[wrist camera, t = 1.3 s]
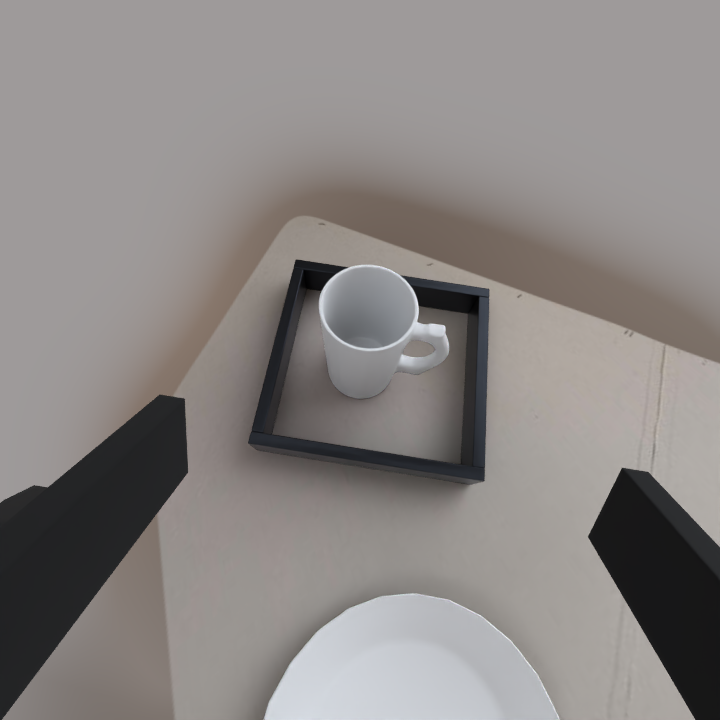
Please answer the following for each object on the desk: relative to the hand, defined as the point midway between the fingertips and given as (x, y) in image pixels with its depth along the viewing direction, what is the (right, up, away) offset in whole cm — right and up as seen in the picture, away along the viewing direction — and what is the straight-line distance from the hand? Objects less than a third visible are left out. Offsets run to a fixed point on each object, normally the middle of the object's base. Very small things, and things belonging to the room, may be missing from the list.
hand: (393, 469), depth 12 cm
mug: (+1, +2, +26) cm, 26 cm away
